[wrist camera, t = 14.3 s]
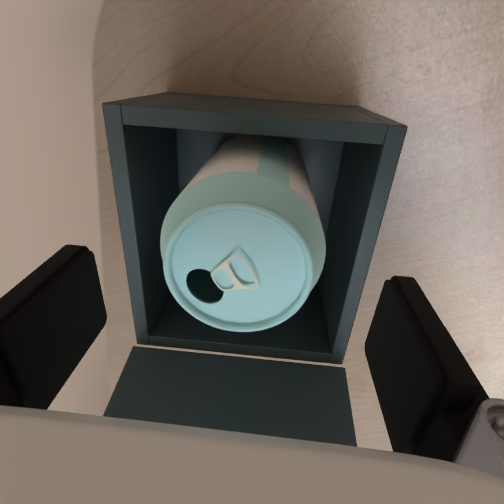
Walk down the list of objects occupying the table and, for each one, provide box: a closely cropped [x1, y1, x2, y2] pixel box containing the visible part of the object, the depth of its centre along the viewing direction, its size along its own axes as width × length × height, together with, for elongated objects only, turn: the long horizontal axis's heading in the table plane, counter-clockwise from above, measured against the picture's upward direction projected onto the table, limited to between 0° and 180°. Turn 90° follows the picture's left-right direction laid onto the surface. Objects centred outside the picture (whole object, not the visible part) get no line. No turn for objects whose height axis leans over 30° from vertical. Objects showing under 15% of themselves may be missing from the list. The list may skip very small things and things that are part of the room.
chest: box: [102, 92, 407, 364], centre depth 20 cm, size 14×13×9 cm
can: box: [160, 134, 326, 332], centre depth 18 cm, size 7×7×12 cm
